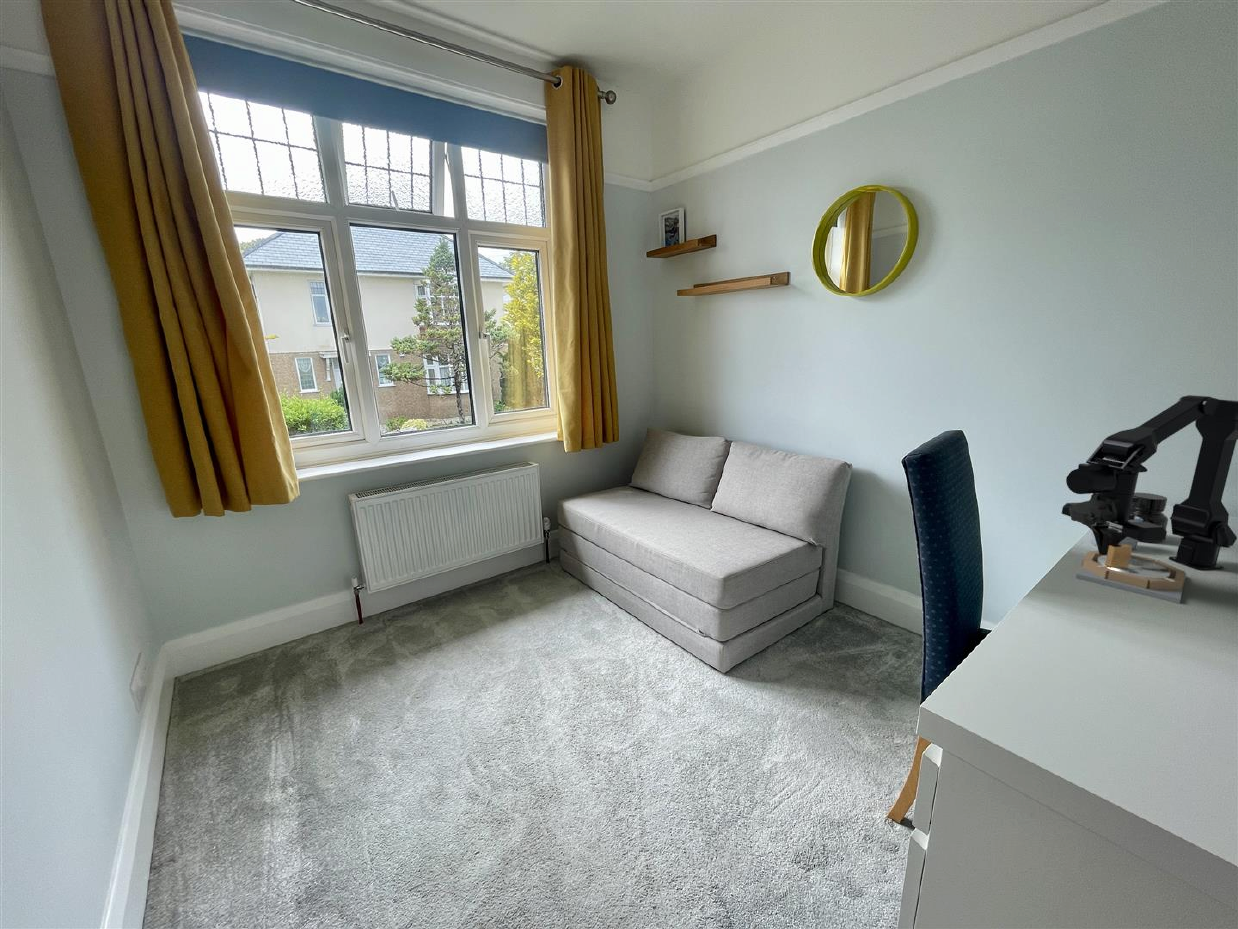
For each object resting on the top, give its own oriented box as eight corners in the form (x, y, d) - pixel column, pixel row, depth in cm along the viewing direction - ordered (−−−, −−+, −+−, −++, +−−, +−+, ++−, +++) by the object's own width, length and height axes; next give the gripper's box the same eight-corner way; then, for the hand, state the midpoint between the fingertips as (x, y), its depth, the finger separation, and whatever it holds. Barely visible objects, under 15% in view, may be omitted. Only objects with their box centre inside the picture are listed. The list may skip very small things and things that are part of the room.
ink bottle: (1108, 534, 138) (1117, 493, 135) (1123, 529, 141) (1132, 489, 138) (1156, 546, 129) (1166, 503, 126) (1171, 540, 132) (1181, 498, 130)
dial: (1128, 560, 118) (1134, 534, 117) (1184, 582, 107) (1191, 554, 105) (1081, 562, 118) (1087, 536, 116) (1133, 585, 107) (1139, 556, 105)
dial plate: (1089, 556, 124) (1092, 544, 124) (1184, 576, 112) (1187, 564, 111) (1076, 577, 113) (1078, 565, 113) (1179, 603, 101) (1182, 589, 100)
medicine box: (1121, 543, 131) (1128, 512, 130) (1136, 550, 127) (1144, 518, 125) (1089, 543, 132) (1095, 512, 130) (1103, 549, 128) (1110, 518, 126)
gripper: (1045, 481, 120) (1035, 541, 123) (1124, 505, 102) (1110, 573, 105) (1089, 480, 120) (1078, 539, 124) (1176, 502, 102) (1160, 571, 105)
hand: (1103, 554), depth 114 cm, fingers closed
